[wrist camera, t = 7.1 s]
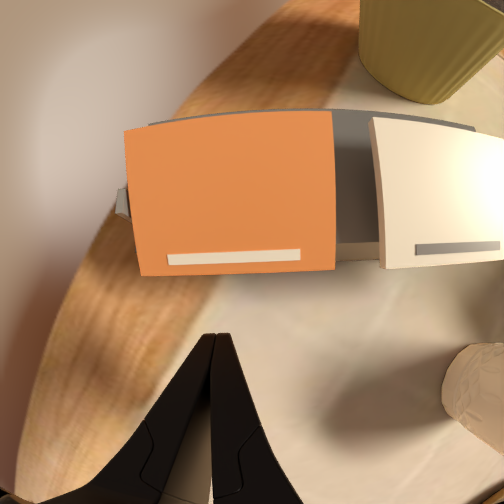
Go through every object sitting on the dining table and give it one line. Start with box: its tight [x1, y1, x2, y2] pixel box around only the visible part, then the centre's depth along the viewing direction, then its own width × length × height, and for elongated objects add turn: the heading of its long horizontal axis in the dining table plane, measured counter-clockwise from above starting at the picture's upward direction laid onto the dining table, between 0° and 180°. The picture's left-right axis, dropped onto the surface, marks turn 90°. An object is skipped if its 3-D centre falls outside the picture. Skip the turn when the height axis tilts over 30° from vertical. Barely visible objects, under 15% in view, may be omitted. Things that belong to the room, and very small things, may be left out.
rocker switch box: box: [115, 109, 476, 261], centre depth 16 cm, size 8×27×9 cm, turn 92°
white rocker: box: [368, 117, 504, 269], centre depth 12 cm, size 7×9×1 cm
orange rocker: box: [124, 111, 336, 276], centre depth 12 cm, size 7×9×1 cm
